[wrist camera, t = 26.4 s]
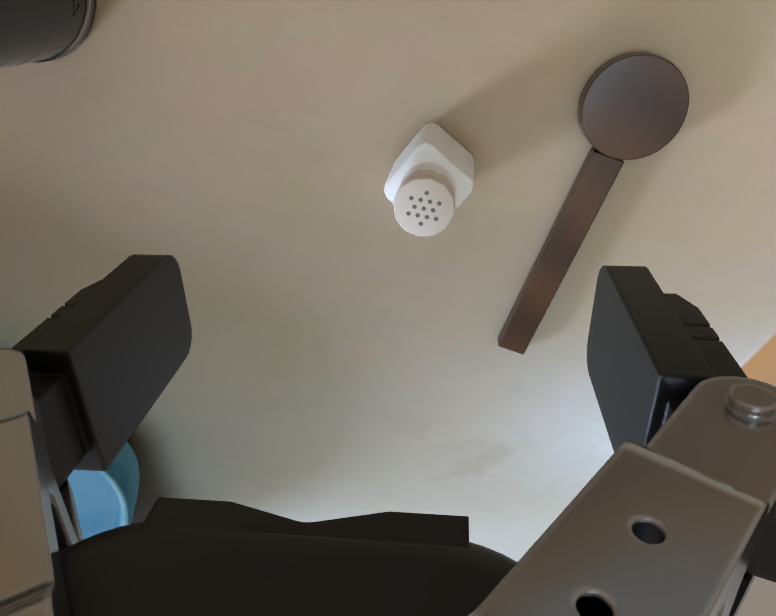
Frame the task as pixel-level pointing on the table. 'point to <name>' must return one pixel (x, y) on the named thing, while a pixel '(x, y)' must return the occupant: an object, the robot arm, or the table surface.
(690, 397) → the robot arm
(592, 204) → the wooden spoon
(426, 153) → the salt shaker
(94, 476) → the casserole dish
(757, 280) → the table surface
